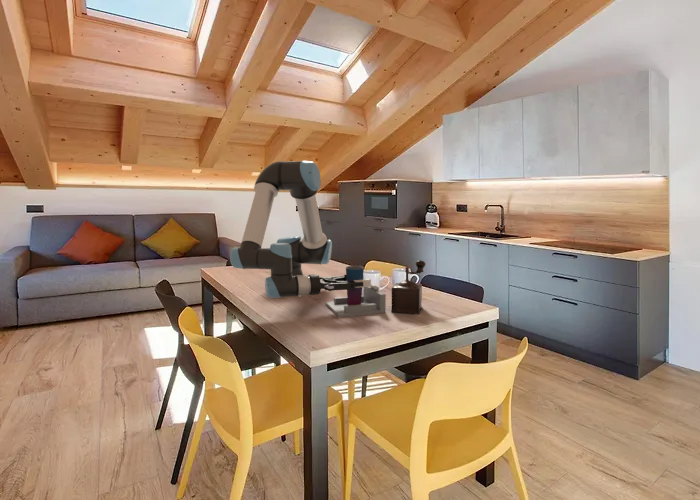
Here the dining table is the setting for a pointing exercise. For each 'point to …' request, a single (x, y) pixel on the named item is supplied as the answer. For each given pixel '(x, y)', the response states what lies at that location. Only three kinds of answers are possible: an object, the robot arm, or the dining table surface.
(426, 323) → the dining table surface
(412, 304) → the manual coffee grinder
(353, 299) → the cup
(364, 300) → the dock
